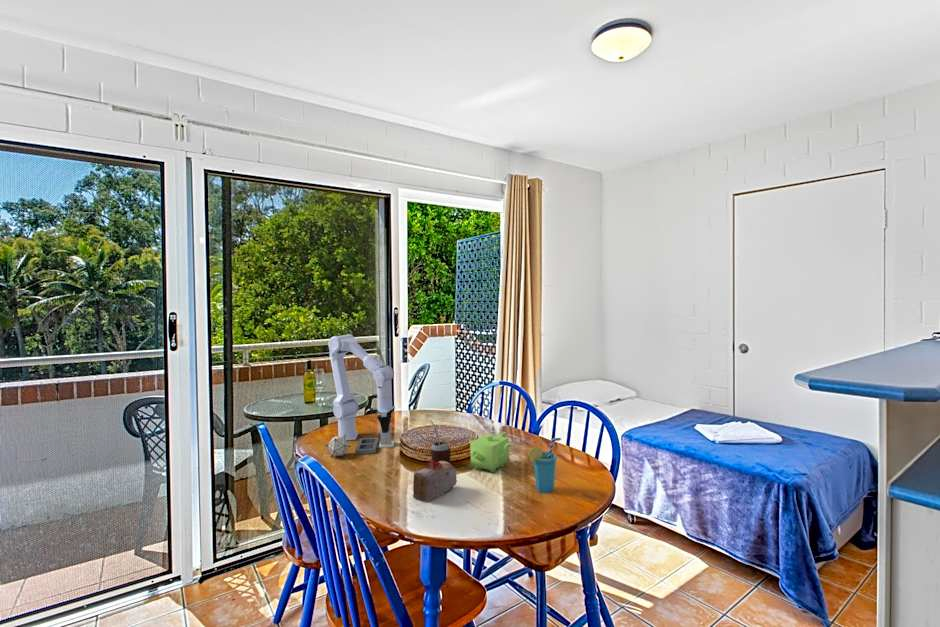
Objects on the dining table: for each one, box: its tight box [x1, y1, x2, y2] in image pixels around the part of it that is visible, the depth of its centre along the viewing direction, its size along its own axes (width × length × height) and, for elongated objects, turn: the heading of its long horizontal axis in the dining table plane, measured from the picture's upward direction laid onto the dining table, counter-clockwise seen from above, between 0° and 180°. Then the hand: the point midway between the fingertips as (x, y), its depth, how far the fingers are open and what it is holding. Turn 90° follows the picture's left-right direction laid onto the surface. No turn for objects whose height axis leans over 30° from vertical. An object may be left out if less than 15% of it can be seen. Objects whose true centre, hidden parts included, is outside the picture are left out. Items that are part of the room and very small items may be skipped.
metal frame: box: [354, 436, 380, 456], centre depth 197 cm, size 15×8×2 cm, turn 6°
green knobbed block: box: [468, 431, 514, 473], centre depth 172 cm, size 15×14×11 cm
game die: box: [324, 434, 352, 458], centre depth 188 cm, size 9×8×10 cm
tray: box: [378, 440, 396, 449], centre depth 200 cm, size 6×6×1 cm
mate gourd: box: [430, 420, 452, 463], centre depth 175 cm, size 8×8×15 cm
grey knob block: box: [379, 426, 393, 446], centre depth 200 cm, size 4×4×7 cm
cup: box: [526, 437, 562, 494], centre depth 152 cm, size 14×8×15 cm, turn 132°
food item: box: [412, 461, 458, 503], centre depth 152 cm, size 14×8×10 cm, turn 144°
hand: (385, 429), depth 200 cm, fingers open, 7 cm apart
